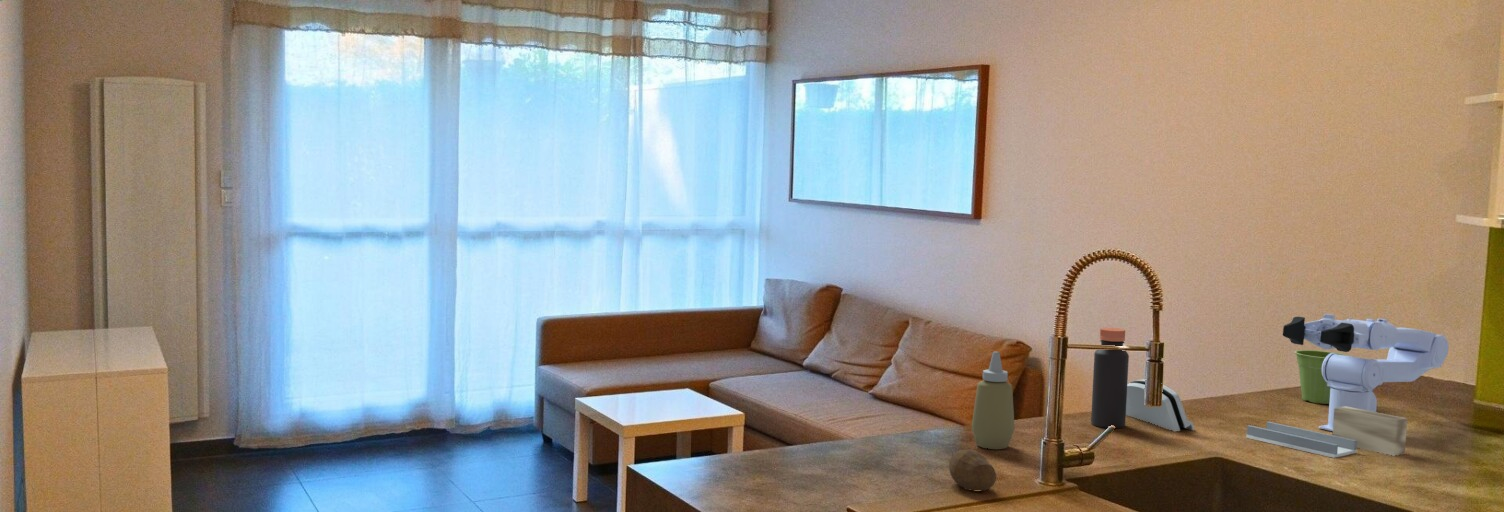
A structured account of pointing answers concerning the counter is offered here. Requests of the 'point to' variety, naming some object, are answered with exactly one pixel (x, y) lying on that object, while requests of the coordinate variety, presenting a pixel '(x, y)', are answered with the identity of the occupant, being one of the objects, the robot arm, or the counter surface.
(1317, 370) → the plant pot
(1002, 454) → the counter surface
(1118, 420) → the dark grey water bottle
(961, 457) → the potato
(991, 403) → the squeeze bottle
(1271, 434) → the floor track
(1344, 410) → the door panel
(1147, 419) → the light blue curved block
